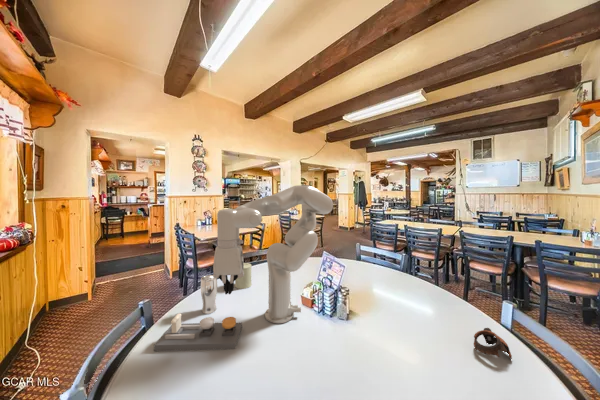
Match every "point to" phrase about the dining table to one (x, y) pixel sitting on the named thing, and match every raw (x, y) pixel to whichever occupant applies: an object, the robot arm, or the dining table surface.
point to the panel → (199, 338)
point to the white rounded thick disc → (206, 323)
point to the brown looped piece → (492, 340)
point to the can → (244, 278)
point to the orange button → (229, 322)
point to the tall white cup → (208, 293)
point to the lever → (176, 324)
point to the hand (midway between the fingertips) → (228, 292)
